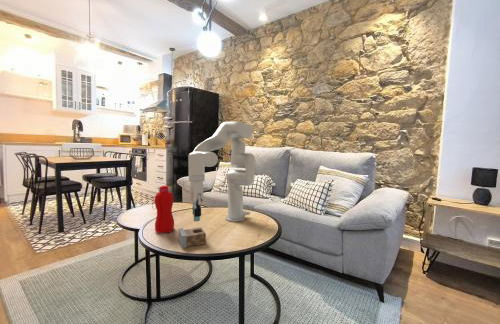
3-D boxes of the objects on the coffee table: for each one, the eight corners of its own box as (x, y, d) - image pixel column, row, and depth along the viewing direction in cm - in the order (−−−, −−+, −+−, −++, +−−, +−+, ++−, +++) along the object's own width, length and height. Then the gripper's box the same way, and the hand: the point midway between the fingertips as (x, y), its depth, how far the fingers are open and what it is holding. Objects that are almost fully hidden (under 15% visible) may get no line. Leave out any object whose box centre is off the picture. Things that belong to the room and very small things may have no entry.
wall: (182, 239, 117) (182, 228, 117) (186, 247, 108) (186, 235, 108) (178, 240, 116) (178, 228, 116) (182, 248, 107) (182, 236, 107)
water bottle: (155, 227, 133) (154, 184, 131) (175, 227, 134) (174, 184, 132) (150, 234, 124) (148, 187, 122) (171, 233, 125) (170, 187, 123)
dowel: (199, 219, 116) (199, 199, 115) (200, 220, 114) (200, 200, 113) (193, 219, 115) (192, 199, 114) (194, 221, 112) (194, 201, 111)
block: (201, 236, 121) (201, 227, 120) (205, 243, 113) (205, 233, 112) (183, 239, 117) (183, 229, 116) (186, 246, 109) (186, 236, 108)
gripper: (185, 176, 118) (185, 211, 120) (192, 181, 104) (192, 221, 105) (200, 175, 122) (200, 210, 123) (209, 180, 107) (209, 219, 108)
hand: (196, 215), depth 114 cm, fingers closed on dowel, 3 cm apart
